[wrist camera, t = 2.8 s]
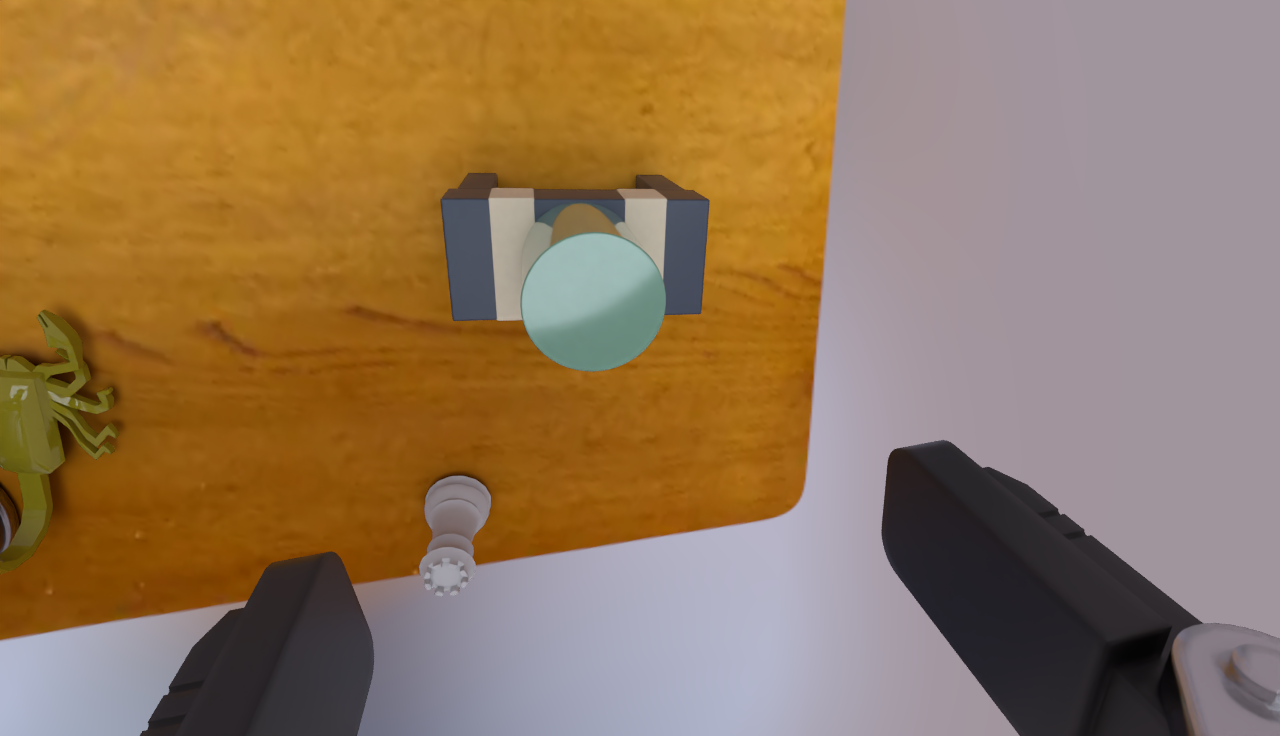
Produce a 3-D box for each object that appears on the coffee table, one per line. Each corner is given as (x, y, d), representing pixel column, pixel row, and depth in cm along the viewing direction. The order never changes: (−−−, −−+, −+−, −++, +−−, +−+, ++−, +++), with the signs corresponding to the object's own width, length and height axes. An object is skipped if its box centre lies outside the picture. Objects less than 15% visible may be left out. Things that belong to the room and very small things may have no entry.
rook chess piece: (497, 517, 44) (492, 599, 37) (435, 529, 44) (417, 615, 37) (484, 465, 42) (475, 543, 35) (418, 478, 42) (396, 559, 35)
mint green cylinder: (524, 317, 29) (523, 375, 23) (518, 201, 27) (516, 232, 21) (636, 314, 30) (663, 369, 24) (639, 201, 28) (669, 231, 22)
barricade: (468, 270, 37) (452, 322, 29) (460, 171, 34) (440, 197, 26) (664, 268, 39) (701, 315, 31) (669, 174, 36) (710, 198, 28)
